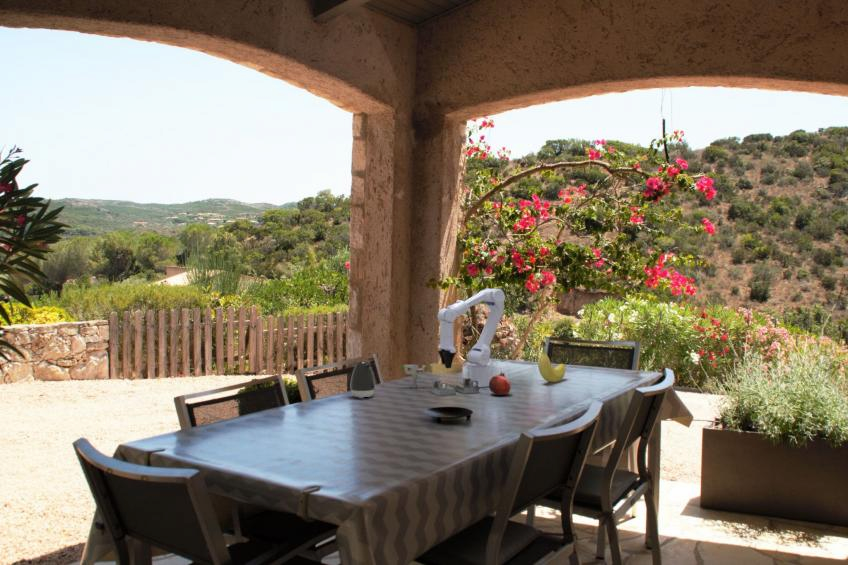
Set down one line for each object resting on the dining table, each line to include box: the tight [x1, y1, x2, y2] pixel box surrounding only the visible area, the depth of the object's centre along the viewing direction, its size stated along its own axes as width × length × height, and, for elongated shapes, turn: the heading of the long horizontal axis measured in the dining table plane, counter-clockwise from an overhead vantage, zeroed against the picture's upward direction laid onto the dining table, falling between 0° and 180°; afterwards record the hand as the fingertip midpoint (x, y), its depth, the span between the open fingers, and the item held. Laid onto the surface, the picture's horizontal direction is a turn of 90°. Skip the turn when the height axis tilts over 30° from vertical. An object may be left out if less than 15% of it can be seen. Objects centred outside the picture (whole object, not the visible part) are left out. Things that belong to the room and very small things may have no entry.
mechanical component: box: [402, 364, 427, 389], centre depth 313 cm, size 3×10×10 cm, turn 89°
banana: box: [537, 340, 567, 383], centre depth 325 cm, size 23×6×20 cm, turn 143°
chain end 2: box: [454, 377, 480, 395], centre depth 303 cm, size 7×10×5 cm
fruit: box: [488, 371, 511, 396], centre depth 296 cm, size 9×10×10 cm
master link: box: [429, 361, 464, 375], centre depth 310 cm, size 14×3×4 cm, turn 111°
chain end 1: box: [431, 379, 456, 397], centre depth 300 cm, size 7×10×5 cm
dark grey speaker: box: [349, 359, 376, 399], centre depth 292 cm, size 10×10×15 cm
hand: (446, 367), depth 310 cm, fingers closed on master link, 3 cm apart
